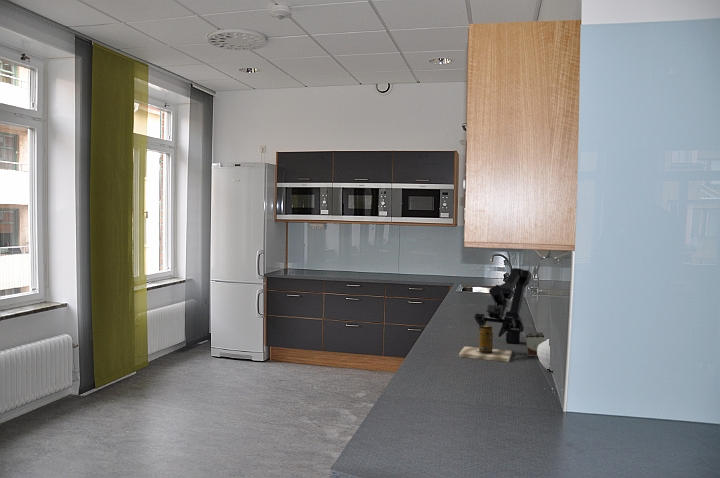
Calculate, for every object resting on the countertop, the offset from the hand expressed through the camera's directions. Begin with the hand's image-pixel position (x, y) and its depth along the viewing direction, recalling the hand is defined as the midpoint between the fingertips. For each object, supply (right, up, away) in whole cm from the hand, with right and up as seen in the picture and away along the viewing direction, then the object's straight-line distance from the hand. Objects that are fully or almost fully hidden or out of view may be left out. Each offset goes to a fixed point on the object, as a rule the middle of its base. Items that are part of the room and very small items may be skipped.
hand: (489, 335), depth 259 cm
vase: (+23, -10, -27) cm, 37 cm away
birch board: (-3, -9, -3) cm, 10 cm away
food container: (+22, -9, +1) cm, 24 cm away
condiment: (-2, -7, -3) cm, 8 cm away
